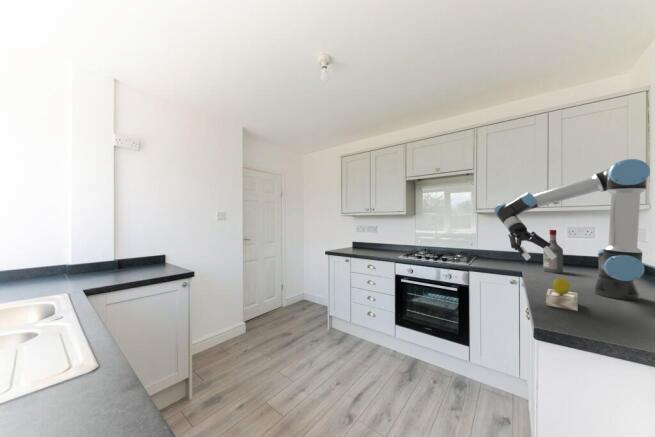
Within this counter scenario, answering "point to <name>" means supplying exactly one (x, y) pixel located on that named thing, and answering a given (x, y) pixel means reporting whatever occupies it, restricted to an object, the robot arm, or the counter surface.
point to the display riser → (562, 300)
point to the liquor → (557, 262)
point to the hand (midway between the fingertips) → (541, 258)
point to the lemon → (561, 286)
